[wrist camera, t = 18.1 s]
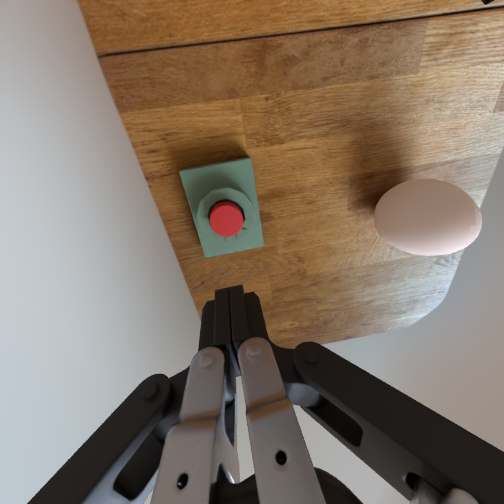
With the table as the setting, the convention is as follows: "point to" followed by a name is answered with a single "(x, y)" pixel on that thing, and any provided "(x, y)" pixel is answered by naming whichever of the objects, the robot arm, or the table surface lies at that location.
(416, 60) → the table surface
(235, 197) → the button box
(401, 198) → the egg
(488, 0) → the bracket
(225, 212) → the button
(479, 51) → the table surface
